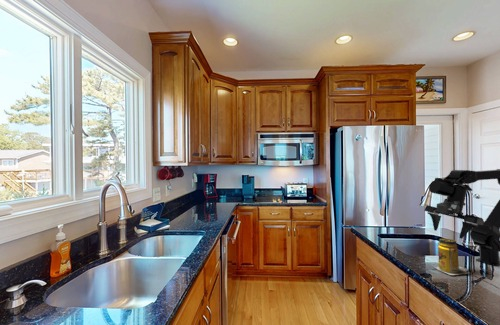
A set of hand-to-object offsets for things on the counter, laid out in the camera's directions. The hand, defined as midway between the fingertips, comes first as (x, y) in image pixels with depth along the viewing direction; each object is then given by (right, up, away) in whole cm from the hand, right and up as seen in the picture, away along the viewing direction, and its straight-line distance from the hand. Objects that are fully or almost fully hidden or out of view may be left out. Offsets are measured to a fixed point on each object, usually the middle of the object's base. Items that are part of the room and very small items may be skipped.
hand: (447, 234), depth 99 cm
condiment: (-5, -12, -7) cm, 15 cm away
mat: (-3, -12, -6) cm, 14 cm away
